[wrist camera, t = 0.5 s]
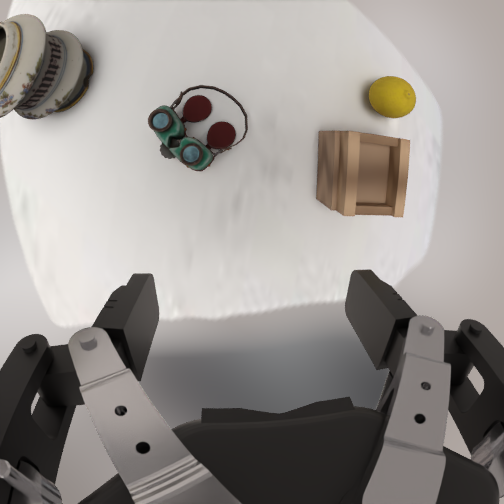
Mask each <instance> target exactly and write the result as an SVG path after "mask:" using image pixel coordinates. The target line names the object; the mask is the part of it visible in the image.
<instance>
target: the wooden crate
mask: <svg viewBox="0 0 504 504" xmlns="http://www.w3.org/2000/svg"><path fill="white" fill-rule="evenodd" d="M409 152H410V140H406V139H400V138H393V137H387V136H381V135H374V134H367V133H360V132H353V131H319V144H318V174H317V195H316V199H317V200H318V201H320V202H321V203H322V204H324V205H325V206H326V207H328V208H329V209H330V210H336V211H338V212H339V213H340V214H342V215H343V216H355V215H392V216H393V217H403V213H404V206H405V198H406V189H407V179H408V167H409Z"/></svg>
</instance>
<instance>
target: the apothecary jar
mask: <svg viewBox="0 0 504 504" xmlns="http://www.w3.org/2000/svg"><path fill="white" fill-rule="evenodd" d="M92 74H93V61H92V59H91V57H90V55H89V54H88V53H87V52H86V51H85V50H83V49H82V46H81V44H80V42H79V40H78V39H77V38H76V37H75V36H74V35H73V34H72V33H70V32H67V31H62V30H55V31H50V32H47V33H46V30H45V27H44V25H43V23H42V22H41V20H40V19H38V18H37V17H36V16H33V15H30V14H21V15H17V16H14V17H11V18H9V19H7V20H6V21H4V22H0V118H1V117H3V116H5V115H7V114H8V113H10V112H11V111H12V110H13V109H14V110H15V111H16V112H17V113H18V114H19V115H20V116H22V117H24V118H27V119H39V118H43V117H46V116H48V115H50V114H51V113H53V112H61V111H65V110H67V109H69V108H71V107H72V106H74V105H75V104H76V103H77V102H78V101H79V100H80V99H81V98H82V97H83V95H84V94H85V92H86V91H87V89H88V84H89V78H90V76H91V75H92Z"/></svg>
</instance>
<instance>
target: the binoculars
mask: <svg viewBox="0 0 504 504" xmlns="http://www.w3.org/2000/svg"><path fill="white" fill-rule="evenodd" d="M199 88H205V89H214V90H216V91H219V92H221V93H223V94H225V95H226V96H228V97H229V98H231V99H232V100H233V101H234V102H235V103H236V104H237V105H238V106H239V107H240V109H241V111H242V112H243V114H244V116H245V129H246V130H245V133H244V135H243V138H242V139H241V140H240V141H239V142H241V141H242V140H243V139H244V138H245V135H246V133H247V130H248V125H247V114H246V112H245V111H244V109H243V107H242V105H241V104H240V103H239V102H238V101H237V100H236V99H235V98H234V97H233V96H231V95H230V94H228V93H227V92H225V91H223V90H221V89H219V88H216V87H213V86H204V85H199V86H195V87H191V88H188V89H187V90H186V91H184V92H183V93H182V91H181V94H180V96H179V98H178V99H176V100H175V101H174V102H173V104H172V105H171V106H170V108H169V107H168V106H160V107H159V108H157V109H156V110H154V111H153V112H152V113H151V114H150V116H149V118H148V124H149V126H150V128H151V129H153V130H154V132H155V134H156V135H157V137H158V138H159V139H160V140H161V141H162V145H160V147H161V148H160V152H161V154H162V155H163V156H164V157H165V158H168V159H171V158H175V157H176V158H178V159H179V160H180V162H182V163H183V164H185V165H186V166H187V167H188V168H191V169H192V170H195V171H203V170H205V169H206V168H207V167H209V166H210V164H211V163H212V161H213V160H214V157H215V156H216V155H217V154H219V153H222V152H224V151H226V150H229V149H232V148H230V147H232V146H235V145H237V144H238V143H239V142H237V143H236V144H235V145H232V146H230V145H231V144H232V143H233V142H234V139H235V136H236V133H235V129H234V127H233V126H232V125H231V124H229V123H228V122H222V121H221V122H217V123H215V124H213V125H212V126H211V128H210V129H209V131H208V134H207V142H208V144H207V145H204V144H202V143H201V142H200V141H199V140H197V139H195V138H194V137H193V138H190V137H187V135H186V128H185V125H184V123H185V122H186V121H189V122H199V121H202V120H204V119H205V118H207V117H208V116H209V114H210V113H211V109H212V106H211V103H210V101H209V100H208V99H207V98H206V97H204V96H201V95H196V96H193V97H191V98H190V99H188V100H187V102H186V103H185V105H184V108H183V117H182V118H181V119H180V118H179V117H178V115H177V114H176V112H175V111H174V109H175V108H176V107H177V106H178V105H179V104H180V102H181V100H182V97H183V95H185V94H186V93H187V92H189V91H191V90H195V89H199ZM174 104H176V105H175V106H174ZM173 106H174V107H173ZM185 136H186V138H184V137H185ZM180 139H182V140H181V142H180V143H179V141H177V140H180ZM229 146H230V147H229ZM227 147H228V148H227ZM211 148H213V149H220V150H219V151H218V152H217V153H213V152H212V151H211V150H210V149H211ZM223 149H225V150H224V151H223ZM212 154H213V155H214V156H213V155H212Z"/></svg>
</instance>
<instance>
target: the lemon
mask: <svg viewBox="0 0 504 504" xmlns="http://www.w3.org/2000/svg"><path fill="white" fill-rule="evenodd" d="M369 100H370V103H371V105H372V107H373V108H374V109H375V110H376V111H377V112H378V113H379V114H381V115H383V116H385V117H389V118H399V117H403V116H405V115H407V114H409V113H410V112H411V111H412V110H413V108H414V106H415V103H416V96H415V92H414V90H413V88H412V87H411V85H410V84H409V83H408V82H406V81H405V80H403V79H401V78H398V77H393V76H386V77H382V78H380V79H378V80H376V81H375V82H374V83H373V84H372V86H371V87H370V90H369Z"/></svg>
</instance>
